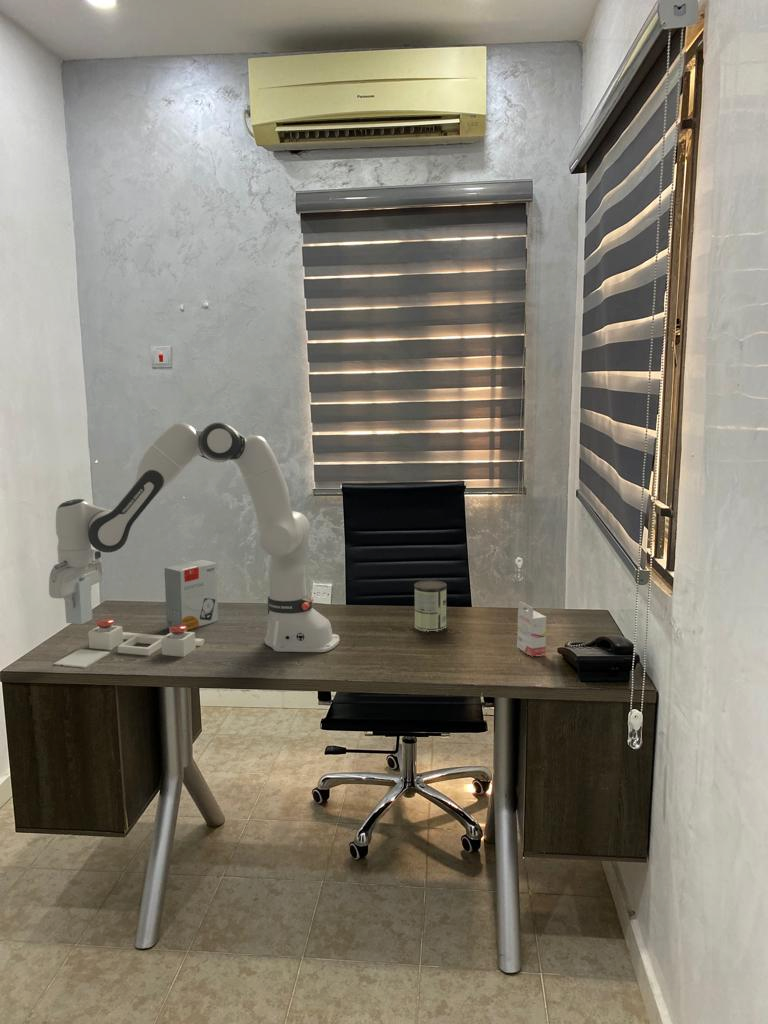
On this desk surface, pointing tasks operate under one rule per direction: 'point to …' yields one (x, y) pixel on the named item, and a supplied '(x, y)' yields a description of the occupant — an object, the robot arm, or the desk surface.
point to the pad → (82, 658)
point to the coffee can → (430, 605)
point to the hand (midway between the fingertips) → (78, 605)
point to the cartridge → (80, 603)
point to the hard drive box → (191, 594)
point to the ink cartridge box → (531, 630)
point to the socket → (147, 639)
